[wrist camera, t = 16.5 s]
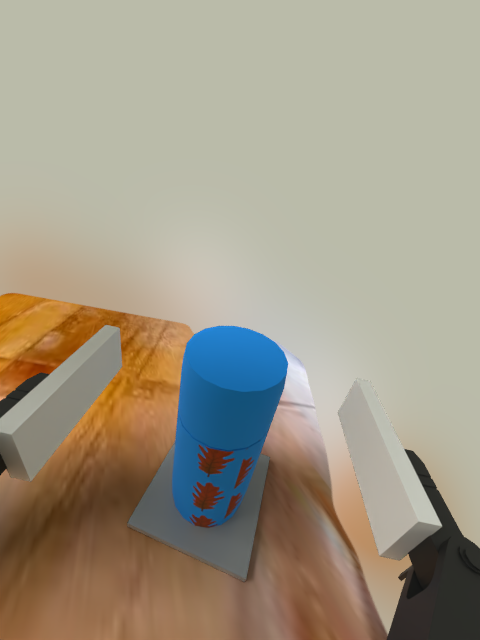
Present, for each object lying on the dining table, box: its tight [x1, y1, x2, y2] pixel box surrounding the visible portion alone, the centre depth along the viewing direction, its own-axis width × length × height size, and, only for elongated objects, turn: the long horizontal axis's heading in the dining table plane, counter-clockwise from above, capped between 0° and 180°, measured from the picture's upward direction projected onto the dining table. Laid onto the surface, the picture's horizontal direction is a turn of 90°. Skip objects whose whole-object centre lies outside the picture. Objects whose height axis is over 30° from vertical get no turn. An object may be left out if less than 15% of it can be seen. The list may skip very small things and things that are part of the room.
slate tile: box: [127, 442, 270, 582], centre depth 38 cm, size 16×16×1 cm
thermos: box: [172, 326, 288, 528], centre depth 32 cm, size 11×11×25 cm
